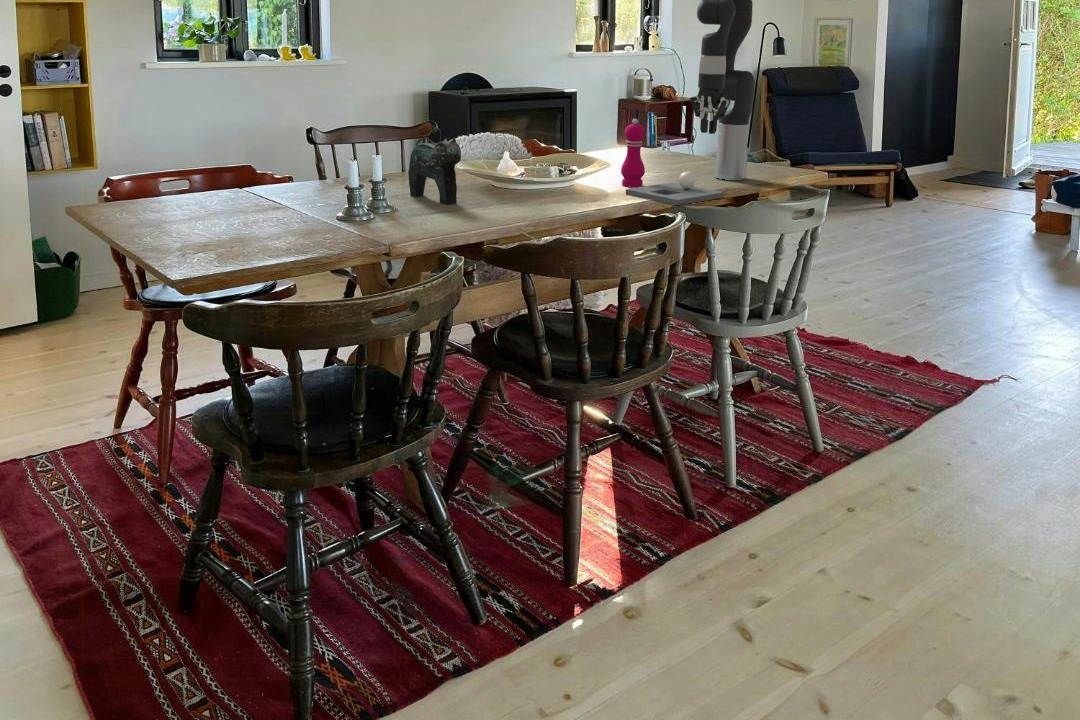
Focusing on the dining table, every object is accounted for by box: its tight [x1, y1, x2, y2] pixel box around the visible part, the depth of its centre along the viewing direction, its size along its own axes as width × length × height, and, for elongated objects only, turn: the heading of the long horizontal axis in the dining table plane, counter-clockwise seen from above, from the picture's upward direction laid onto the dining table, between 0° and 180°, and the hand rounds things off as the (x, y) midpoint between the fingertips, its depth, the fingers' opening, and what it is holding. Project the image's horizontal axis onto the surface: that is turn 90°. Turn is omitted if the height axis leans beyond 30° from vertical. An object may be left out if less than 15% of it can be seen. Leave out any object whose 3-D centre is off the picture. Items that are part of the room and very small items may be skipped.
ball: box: [677, 171, 697, 189], centre depth 309 cm, size 5×5×5 cm
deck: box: [625, 181, 725, 206], centre depth 307 cm, size 20×20×2 cm
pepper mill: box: [620, 118, 646, 188], centre depth 318 cm, size 7×7×20 cm
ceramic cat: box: [407, 127, 462, 206], centre depth 292 cm, size 20×6×20 cm, turn 41°
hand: (707, 132), depth 309 cm, fingers open, 2 cm apart
